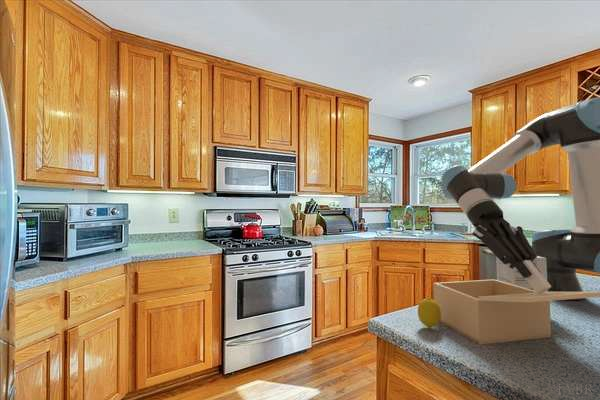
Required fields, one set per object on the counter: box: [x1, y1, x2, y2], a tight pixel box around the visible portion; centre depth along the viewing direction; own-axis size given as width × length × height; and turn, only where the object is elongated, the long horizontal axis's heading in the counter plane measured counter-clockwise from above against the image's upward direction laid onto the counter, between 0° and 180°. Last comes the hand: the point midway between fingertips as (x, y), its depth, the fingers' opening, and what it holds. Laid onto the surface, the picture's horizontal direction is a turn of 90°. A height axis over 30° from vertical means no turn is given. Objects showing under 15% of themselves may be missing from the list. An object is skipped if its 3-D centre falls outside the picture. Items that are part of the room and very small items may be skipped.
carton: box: [432, 279, 552, 346], centre depth 76 cm, size 20×16×10 cm
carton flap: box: [478, 291, 600, 302], centre depth 62 cm, size 20×1×12 cm
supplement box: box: [495, 255, 548, 292], centre depth 88 cm, size 10×9×17 cm
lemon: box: [417, 296, 441, 330], centre depth 75 cm, size 6×6×8 cm
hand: (543, 290), depth 61 cm, fingers closed
